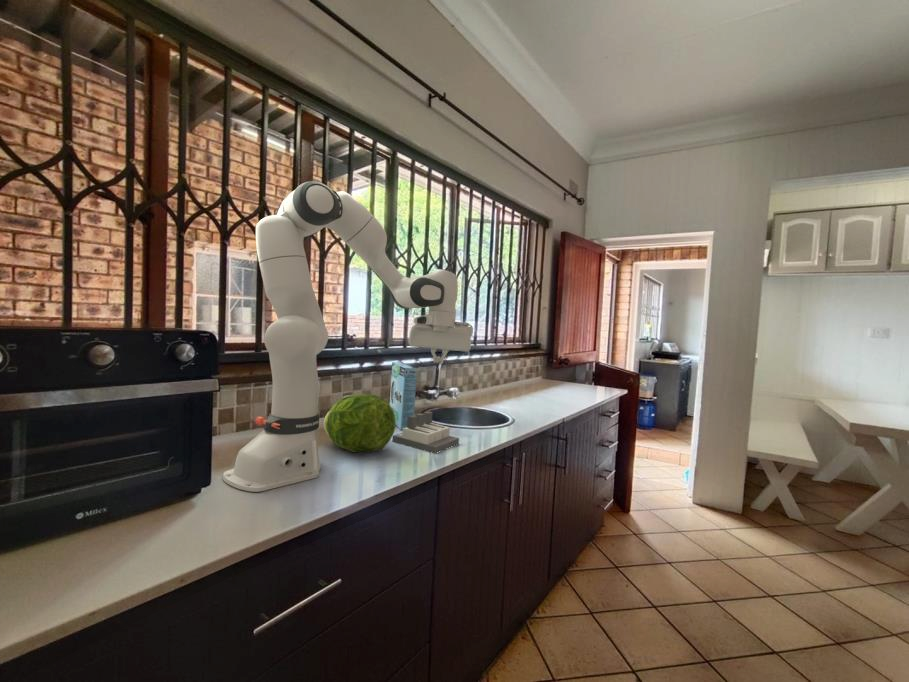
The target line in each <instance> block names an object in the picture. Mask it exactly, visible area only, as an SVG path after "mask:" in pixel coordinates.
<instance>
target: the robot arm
mask: <svg viewBox="0 0 909 682" xmlns="http://www.w3.org/2000/svg"><path fill="white" fill-rule="evenodd" d="M324 228H326V229H329V230H331V231H332V232H334V233H335V234H337V236H338V237H339V238H340V240H342V241H343V242H344V243H345V244H346V245H347V246H348V248H350V249H351V250H352V251H353V252H354V253H355V254H356V255H357V256H358V257H359V258H361V260H362V262H364V263H365V264H366V265H367V266H368V268H370V270H371V272H373V274H374V275H375V276H376V277H377V278H378V279H379V280H380V281H381V282H382V284H384V286H385V287H386V288H387V291H388V292H389V294H390V297H391V299H392V301H393V303H394V304H395V305H396V306H397V307H399V308H400V309H403V310H408V309H425V308H426V309H427V308H428V314H422V315H420V316H416V317H414V318H413V325H412V326H411V328H410V331H409V336H408V345H409V346H410V347H412V348H424V349H430V353H431V355H432V357H433V363H434V364H443V363H444V358H445V357H446V355H447V354H448V351H456V352H457V351H459V352H467V353H468V352H470V351H471V347H472V346H471V345H472V339H471V337H472V336H473V334H474V328H473V326H472V324H470V323H469V322H462V321H461V322H460V321H456V318H457V309H456V304H457V301H458V295H459V294H458V292H459V291H458V289H459V285H458V284H459V282H458V276H457V275H456V274H455V273H454V272H453V271H450V270H448V269H443V268H436V269H434V270H433V271H432V272H429V273H427V274H424V275H420V276H415V277H407V276H405V275H403V274H402V273H401V272H400V271H399V269H398V268H397V267H396V266H395V265H394V263H393V262H392V261H391V260H390V259H389V258H388V256H387V253H386V248H387V243H388V241H387V240H388V236H387V232H386V230H385V228H384V227H383V226H382V224H381V223H380V221H378V219H377V218H376V217H375V216H374V215H373V214H372V213H371V212H370V210H368V209H367V208H366V207H365V205H363V204H362V203H361V202H360V201H359V200H357V199H356V198H355V197H354V196H352V195H351V194H350V193H348V192H346V191H335V190H333V189H332V188H331V187H329V186H328V185H326V184H324V183H322V182H320V181H316V180H311V181H310V180H309V181H306V182H303V183H301V184H300V185H298V186H297V187H296V188H295V189H294V190H293V191H292V192H290V193H288V194H287V195H286V197H285V198H284V199H283V201H282V203H280V205H279V206H278V207H277V209H276V212H275V215H268V216H265V217H263V218H262V219H260V220H259V221H258V222H257V223H256V226H255V243H256V244H255V245H256V246H255V247H256V253H257V260H258V263H259V264H258V265H259V270H260V273H261V278H262V282H263V287H264V293H265V296H266V298H267V299H268V301H269V302H270V304H271V306H272V308H273V310H274V313H275V315H276V317H277V319H276V320H275V321H274V322H271V324H270V325H269V326H268V327H267V329H266V330H265V332H264V333H265V334H264V339H263V342H264V346H265V348H266V350H267V352H268V355H269V365H270V369H271V379H272V391H271V392H272V393H271V394H272V395H271V408H270V409H271V412H270V413H269V414H268V417H267V418H266V417H263V416H259V415H258V416H257V417H256V418H255V420H254V423H255V424H256V425H259V426H261V427H263V430H261V431H260V432H259V433H258V434H257V435H256V436H255V437H253V438H252V440H250V441H249V442H248V443H246V444H245V445H244V446H242V448H241V449H240V450H239V451H238V452H237V455H236V458H235V463H234V467H233V468H232V469H228V470H225V471H224V472H223V475H222V479H223V481H224V482H225V483H226V484H228V485H229V486H231V487H233V488H236V489H239V490H242V491H246V492H251V493H253V492H255V493H258V492H263V491H268V490H272V489H276V488H279V487H280V488H281V487H284V486H288V485H292V484H295V483H296V484H297V483H300V482H304V481H309V480H311V479H316V478H319V475H320V473H319V471H320V470H321V468H322V464H321V460H320V455H319V454H320V453H319V447H318V446H319V445H318V429H319V427H320V412H319V400H320V388H321V387H320V385H321V383H320V380H319V375H318V374H319V373H318V366H317V365H318V364H317V355H319V354H320V353H322V351H323V350H324V349H325V347H327V346H326V345H327V344H328V340H329V331H328V328H327V327H326V324H325V320H324V317H323V313H322V311H321V308H320V305H319V303H318V299H317V297H316V294H315V291H314V288H313V282H312V278H311V274H310V270H309V264H308V260H307V255H306V251H305V248H304V240H306V239H307V238H308V239H309V237H311V236H312V235H314V234H316V233H319V232H320V231H321V230H322V229H324ZM437 350H441V353H442V355H441V357H440V356H439V357H438V356H437V354H436V352H437Z"/></svg>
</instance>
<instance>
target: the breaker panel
mask: <svg viewBox="0 0 909 682" xmlns="http://www.w3.org/2000/svg"><path fill="white" fill-rule="evenodd" d="M450 430H451V428H450V427H449V426H444V425H441V424H437V423H433V422H432V423H429V424H426V423H424V425H422V426H417V425H416V428H412V429H411V428H407V427H406V428H403V430H402V432H400V433H396V434H393V435H392V437H391V439H392V440H391V442H393V443H396V444H400V445H404V446H406V447H410V448H413V449H416V450H421V451H423V452H428V453H431V452H432V453H431V454H434V453H436V454H437V452H438V453H440V452H439V451H441V450H443V451H445V450H447V449H446V448H448V449H450V448H452V447H451V446H453V447H455V446H457V445H459V441H460V438H459V437H456V436H453V435H450V434H451V433H450ZM456 444H457V445H456ZM454 445H455V446H454ZM449 447H450V448H449ZM444 449H445V450H444ZM441 452H442V451H441Z"/></svg>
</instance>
